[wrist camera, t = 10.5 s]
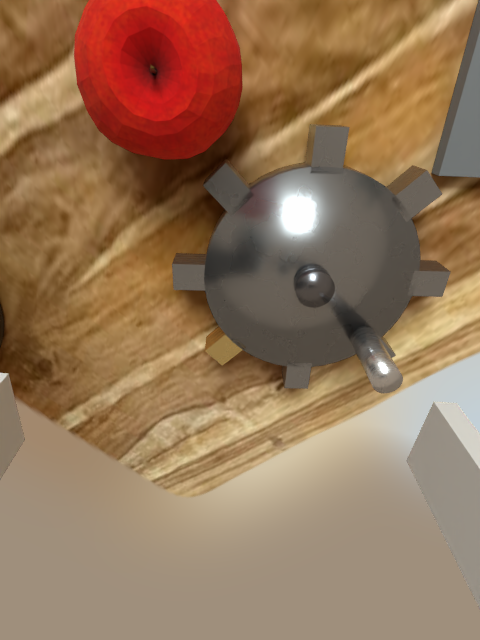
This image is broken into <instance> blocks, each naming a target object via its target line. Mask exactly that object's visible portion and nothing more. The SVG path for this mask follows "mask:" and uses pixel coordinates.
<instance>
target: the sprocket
mask: <svg viewBox="0 0 480 640" xmlns="http://www.w3.org/2000/svg"><path fill="white" fill-rule="evenodd" d="M348 132H349V127H345V126H338V125H313V124H310V125H309V134H308V143H307V152H306V161H305V163H299V164H293V165H289V166H286V167H282V168H279V169H276V170H274V171H272V172H270V173H267V174H265V175H263V176H261V177H260V178H258V179H257V180H255V181H254V182H252V183H250V184H248V183H247V182H246V180H245V179H244V178H243V177H242V176H241V175H240V174H239V173H238V171H237V170H236V169H235V168H234V167H233V166H232V165H231V163H230V162H229V161H228V160H227V159H225V160H224V161H223V162H222V163H221V164H220V165H219V166H218V167H217V168H216V169H215V170H214V171H213V172H212V173H211V174H210V175H209V176H208V178H207V179H206V180H205V182H204V184H203V186H204V187H205V188H206V190H207V191H208V192H209V193H210V194H211V195H212V196H213V197H214V198H215V199H216V200H217V201H218V202H219V203H220V204H221V205H222V207H223V208H224V209H225V210H224V211H223V213H222V214H221V216H220V217H219V219H218V221H217V223H216V225H215V227H214V229H213V232H212V235H211V238H210V241H209V245H208V250H207V254H183V253H176V256H175V258H174V261H173V263H172V268H173V286H174V290H203V291H205V292H206V297H207V301H208V305H209V307H210V310H211V312H212V315H213V317H214V318H215V320H216V322H217V324H218V325H219V327H217V328H216V329H215V330H214V331H213V332H211V333H210V334H209V335H208V336H207V337H206V346H205V352H206V353H208V354H209V355H210V356H211V357H212V358H214V359H215V360H216V361H217V362H218V363H220V364H221V365H222V366H223V365H224V364H225V363H226V362H228V361H229V360H230V359H232V358H233V357H234V356H235V355H237V354H238V353H239V352H241V351H242V350H244V351H245V352H247V353H249V354H250V355H252V356H254V357H256V358H259V359H261V360H263V361H266V362H270V363H273V364H277V365H282V376H283V382H284V387H285V388H306V389H308V384H309V378H310V372H311V367H314V366H321V365H326V364H331V363H335V362H338V361H341V360H343V359H346V358H349V357H351V356H353V355H355V354H357V356H358V358H359V360H360V362H361V364H362V366H363V368H364V370H365V372H366V374H367V376H368V378H369V380H370V382H371V384H372V386H373V388H374V389H375V390H376V391H377V392H379V393H390V392H393V391H395V390H396V389H398V388H399V387H400V385H401V384H402V381H403V377H402V375H401V373H400V371H399V370H398V368H397V367H396V365H395V363H394V362H393V360H392V359H391V358H392V357H394V356H395V353H394V352H393V350H392V348H391V347H390V345H389V344H388V342H387V341H386V340H385V338H384V337H383V335H384V334H385V333H386V332H387V331H388V330H390V329H391V327H392V326H393V325H394V324H395V323H396V321H397V320H398V319H399V318H400V316H401V315H402V313H403V312H404V310H405V309H406V307H407V305H408V303H409V301H410V299H411V297H412V296H434V297H442V296H443V293H444V290H445V287H446V284H447V281H448V278H449V275H450V271H449V270H448V269H446V268H445V267H444V266H442V265H441V264H440V263H438V262H437V261H425V260H420V245H419V240H418V235H417V231H416V228H415V226H414V223H413V221H412V217H414V216H415V215H416V214H417V213H419V212H420V211H421V210H423V209H424V208H425V207H426V206H428V205H429V204H430V203H432V202H433V201H434V200H435V199H437V198H438V197H439V196H441V195H442V193H441V191H440V190H439V188H438V186H437V185H436V183H435V182H434V180H433V179H432V177H431V176H430V174H429V172H428V171H427V170H425V169H422V168H419V167H416V166H413V165H412V166H411V167H410V168H409V169H408V170H406V171H405V172H404V173H403V174H402V175H400V176H399V177H398V178H397V179H396V180H394V181H393V182H392V183H391V184H390V185H388V186H387V187H385V186H384V185H382V184H381V183H379V182H377V181H376V180H374V179H373V178H371V177H369V176H367V175H365V174H363V173H361V172H359V171H357V170H354V169H352V168H350V167H346V166H343V164H344V158H345V151H346V145H347V139H348ZM311 265H317V266H321V267H323V268H324V269H326V270H327V271H328V273H329V275H330V276H331V278H332V280H333V282H334V284H335V292H334V295H333V297H332V299H331V300H330V301H329V302H328V303H327V304H325V305H323V306H321V307H316V308H311V307H307V306H305V305H303V304H302V303H300V301H299V300H298V298H297V295H296V292H295V289H294V279H295V276H296V275H297V273H298V272H299V271H300V270H301V269H303V268H305V267H307V266H311Z"/></svg>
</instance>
